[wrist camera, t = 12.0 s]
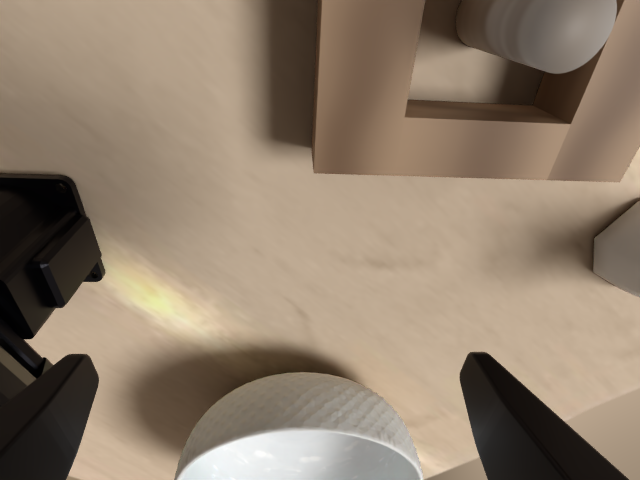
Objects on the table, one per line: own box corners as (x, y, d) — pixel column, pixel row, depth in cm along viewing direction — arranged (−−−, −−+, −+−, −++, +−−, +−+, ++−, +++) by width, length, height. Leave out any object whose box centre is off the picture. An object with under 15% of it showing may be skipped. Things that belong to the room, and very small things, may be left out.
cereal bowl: (432, 415, 33) (462, 509, 27) (279, 473, 37) (276, 563, 31) (332, 299, 24) (343, 398, 18) (149, 391, 29) (111, 494, 23)
